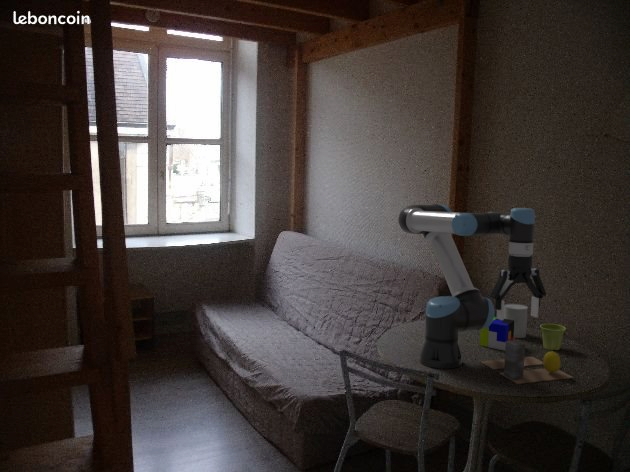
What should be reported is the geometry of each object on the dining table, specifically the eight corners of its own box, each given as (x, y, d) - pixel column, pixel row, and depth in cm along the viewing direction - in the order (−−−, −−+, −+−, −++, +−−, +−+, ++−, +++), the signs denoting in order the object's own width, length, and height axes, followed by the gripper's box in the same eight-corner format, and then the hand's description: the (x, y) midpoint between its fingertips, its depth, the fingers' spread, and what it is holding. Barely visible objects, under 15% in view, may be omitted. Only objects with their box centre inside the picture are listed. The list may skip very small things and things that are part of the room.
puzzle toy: (504, 350, 226) (505, 325, 225) (479, 345, 232) (480, 321, 231) (513, 344, 234) (514, 320, 233) (488, 339, 240) (490, 316, 239)
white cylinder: (504, 330, 254) (505, 302, 253) (527, 333, 250) (529, 305, 249) (501, 335, 246) (502, 307, 244) (524, 339, 242) (526, 310, 240)
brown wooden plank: (492, 369, 204) (492, 368, 204) (480, 362, 212) (480, 361, 212) (546, 364, 210) (546, 363, 210) (532, 357, 218) (532, 356, 218)
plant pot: (556, 353, 223) (558, 331, 222) (534, 347, 230) (535, 326, 229) (569, 349, 229) (570, 327, 228) (546, 343, 236) (547, 322, 235)
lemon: (556, 370, 203) (557, 348, 202) (562, 376, 197) (563, 353, 196) (540, 370, 203) (541, 348, 202) (545, 376, 198) (547, 353, 197)
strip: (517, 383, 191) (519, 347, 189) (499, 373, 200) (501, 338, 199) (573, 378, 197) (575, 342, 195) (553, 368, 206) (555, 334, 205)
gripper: (495, 258, 184) (492, 323, 187) (559, 255, 192) (555, 317, 195) (481, 254, 192) (478, 317, 194) (544, 252, 199) (540, 312, 202)
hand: (517, 317), depth 194 cm, fingers open, 13 cm apart
